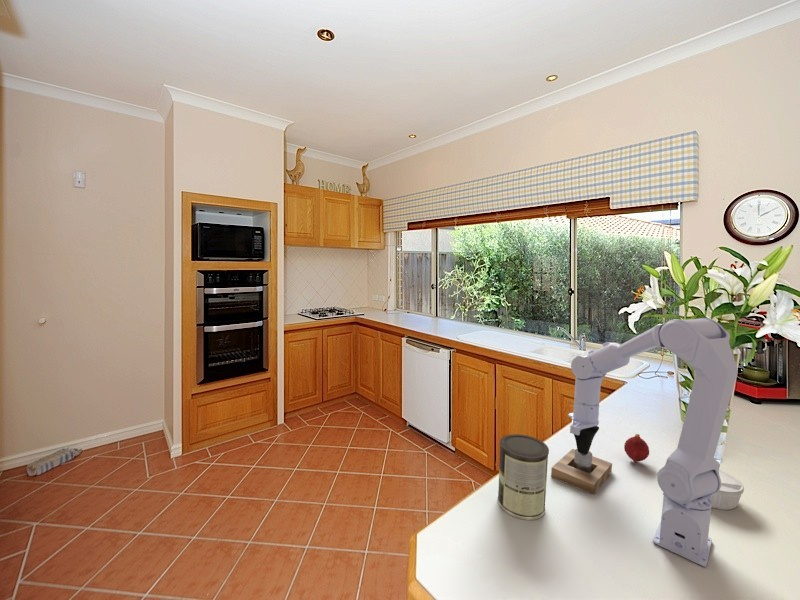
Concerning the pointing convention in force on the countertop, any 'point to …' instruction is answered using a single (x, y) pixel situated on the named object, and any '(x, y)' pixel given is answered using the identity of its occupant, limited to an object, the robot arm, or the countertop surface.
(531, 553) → the countertop surface
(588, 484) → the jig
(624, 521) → the countertop surface
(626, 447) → the onion
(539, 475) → the coffee can
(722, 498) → the ramekin
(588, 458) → the brushed metal cylinder
